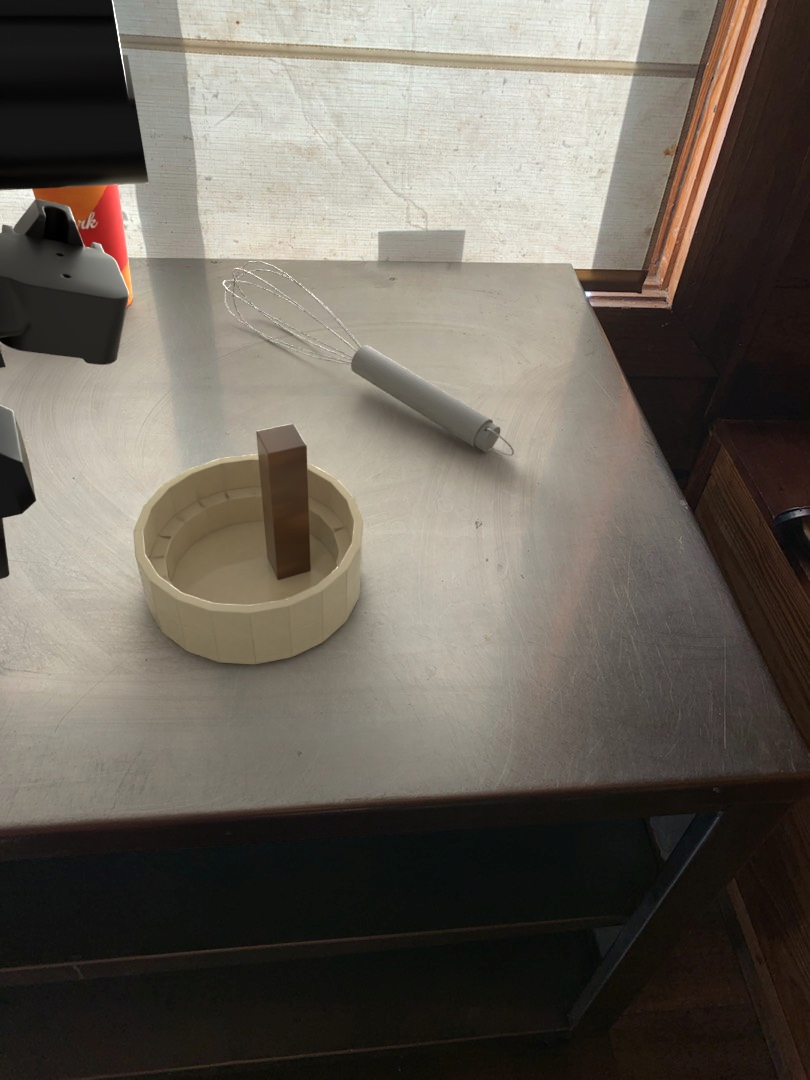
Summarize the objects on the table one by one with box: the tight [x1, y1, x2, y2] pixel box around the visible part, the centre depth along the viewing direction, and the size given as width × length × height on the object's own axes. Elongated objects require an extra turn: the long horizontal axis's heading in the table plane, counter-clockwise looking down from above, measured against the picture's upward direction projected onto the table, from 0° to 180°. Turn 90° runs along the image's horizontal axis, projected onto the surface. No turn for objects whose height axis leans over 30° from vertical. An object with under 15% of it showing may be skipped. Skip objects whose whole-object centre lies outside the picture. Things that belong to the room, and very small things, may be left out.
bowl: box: [133, 454, 364, 665], centre depth 52 cm, size 14×14×6 cm
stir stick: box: [255, 422, 311, 580], centre depth 51 cm, size 2×2×11 cm
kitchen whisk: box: [222, 260, 515, 457], centre depth 70 cm, size 6×34×6 cm, turn 50°
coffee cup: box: [31, 185, 133, 307], centre depth 74 cm, size 8×8×15 cm
